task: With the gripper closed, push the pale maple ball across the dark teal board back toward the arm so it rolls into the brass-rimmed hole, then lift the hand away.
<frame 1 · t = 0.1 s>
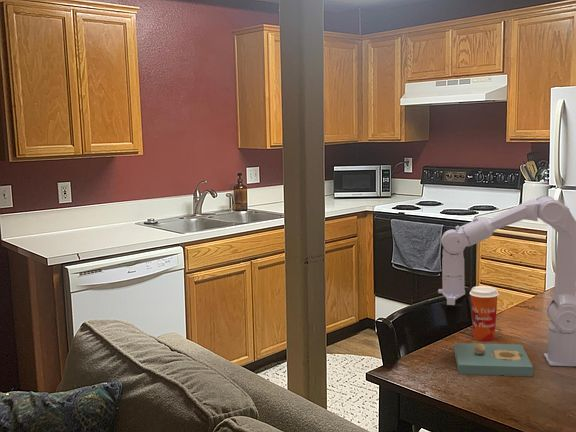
hand: (453, 323, 167), 10 cm above the table, fingers open, 7 cm apart
maple ball: (479, 348, 164), point 4 cm above the table, touching hole board
coffee cup: (484, 338, 184), on the table
hole board: (491, 363, 164), on the table
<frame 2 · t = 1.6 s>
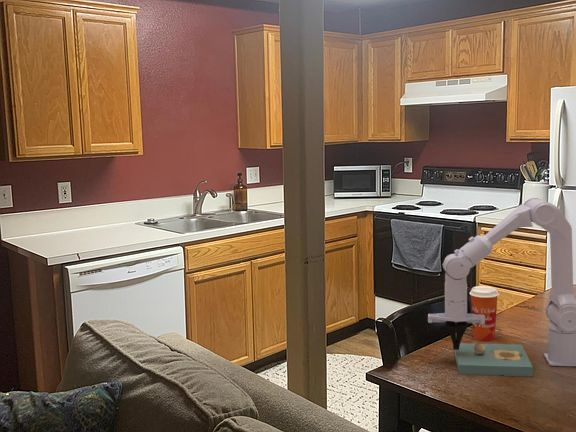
hand: (456, 348, 165), 4 cm above the table, fingers closed
nothing on the table moved.
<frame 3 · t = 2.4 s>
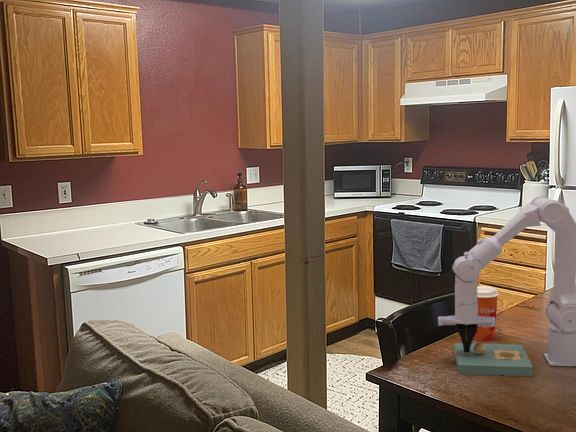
hand: (466, 351, 165), 3 cm above the table, fingers closed
nothing on the table moved.
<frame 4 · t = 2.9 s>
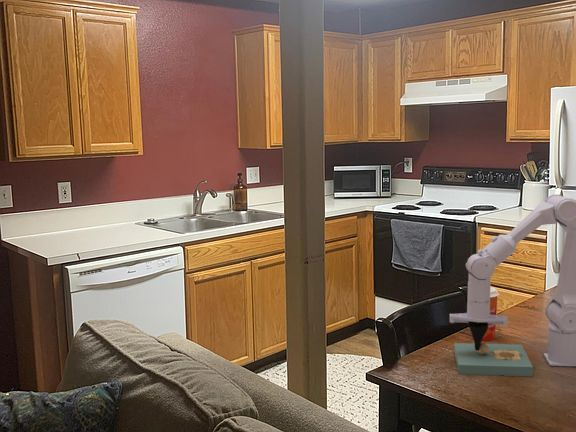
hand: (477, 349, 164), 4 cm above the table, fingers closed, pressing on maple ball
maple ball: (483, 349, 164), point 4 cm above the table, tilted 34°, touching gripper, hole board
everything else where it was.
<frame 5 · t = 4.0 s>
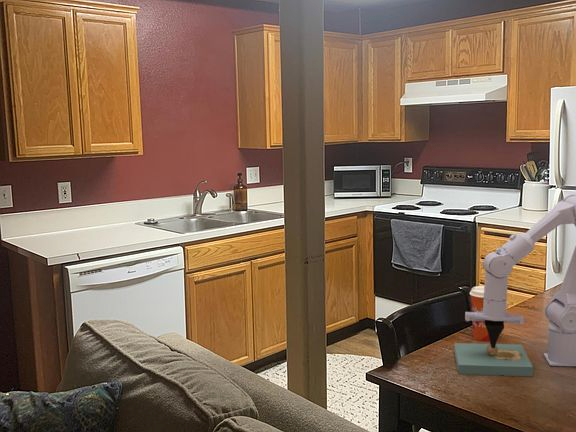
hand: (492, 348, 163), 4 cm above the table, fingers closed, pressing on maple ball
maple ball: (492, 349, 164), point 4 cm above the table, tilted 124°, touching gripper, hole board
everything else where it was.
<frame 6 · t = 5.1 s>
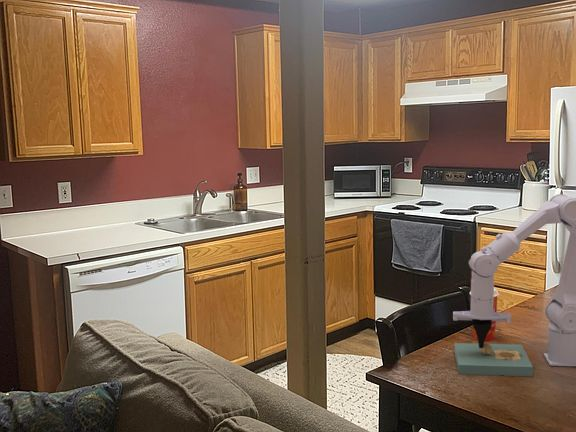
hand: (480, 346, 164), 5 cm above the table, fingers closed, pressing on maple ball
maple ball: (486, 349, 164), point 4 cm above the table, tilted 65°, touching gripper, hole board
everything else where it was.
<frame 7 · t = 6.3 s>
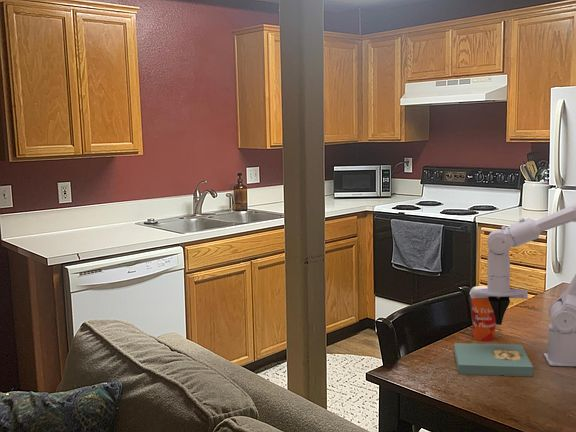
hand: (498, 323, 167), 9 cm above the table, fingers closed
maple ball: (505, 358, 163), point 1 cm above the table, tilted 93°
everything else where it was.
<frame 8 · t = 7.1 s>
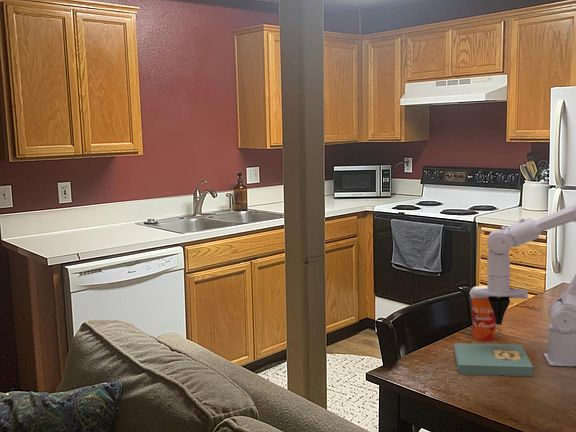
hand: (498, 323, 167), 9 cm above the table, fingers closed
maple ball: (506, 358, 163), point 1 cm above the table, tilted 85°
everything else where it was.
at the end: maple ball 0.2 cm from the target spot on the hole board, point 1.5 cm above the hole board's base; maple ball moved 7.2 cm from its start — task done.
